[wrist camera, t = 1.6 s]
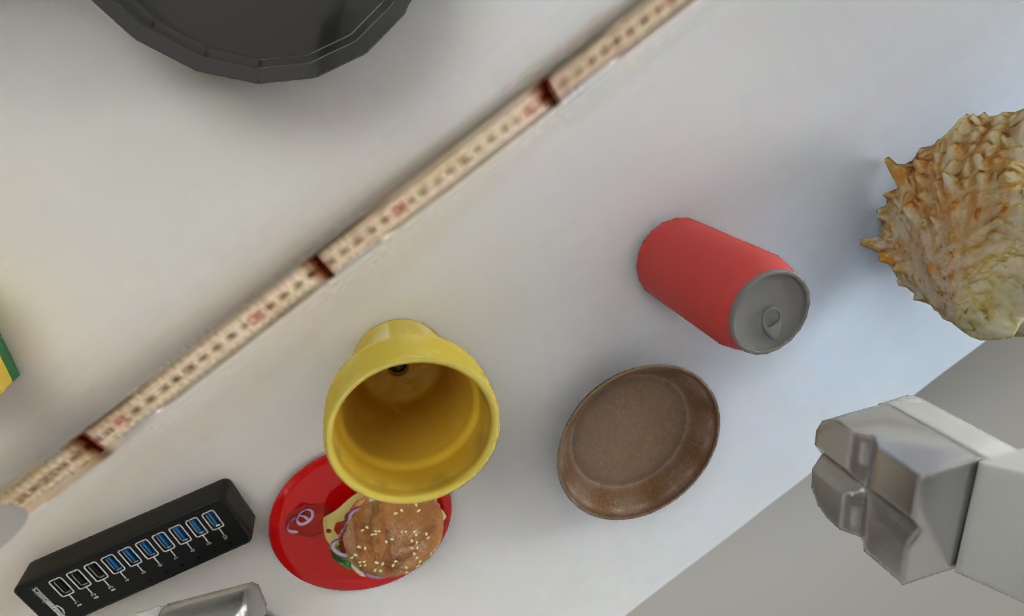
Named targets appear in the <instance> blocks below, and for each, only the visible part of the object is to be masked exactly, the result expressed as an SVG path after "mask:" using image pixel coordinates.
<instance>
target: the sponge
mask: <svg viewBox="0 0 1024 616" xmlns="http://www.w3.org/2000/svg"><path fill="white" fill-rule="evenodd" d="M18 376H19V372H18V370H17V368H16V366H15V364H14V362H13V360H12V358H11V356H10V354H9V352H8V350H7V347H6V345H5V343H4V341H3V339H2V337H1V335H0V394H1V393H2V392H3V391H4V390H5V389H6V388H7V387H8V386H9V385H10V384H11V383H12V382H13V381H14V380H15V379H16V378H17V377H18Z"/></svg>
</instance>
